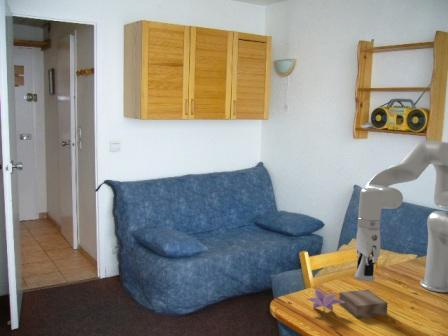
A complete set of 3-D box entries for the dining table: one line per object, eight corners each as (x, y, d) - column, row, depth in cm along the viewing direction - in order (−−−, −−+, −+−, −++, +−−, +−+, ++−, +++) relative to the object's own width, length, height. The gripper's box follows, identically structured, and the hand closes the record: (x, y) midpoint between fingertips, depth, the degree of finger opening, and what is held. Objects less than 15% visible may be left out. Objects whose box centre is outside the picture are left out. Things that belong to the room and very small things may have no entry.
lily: (348, 320, 163) (346, 292, 166) (333, 317, 154) (331, 288, 158) (317, 320, 170) (316, 293, 173) (301, 318, 161) (300, 290, 165)
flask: (372, 275, 171) (374, 248, 169) (376, 282, 164) (379, 255, 162) (352, 273, 172) (354, 247, 170) (355, 281, 164) (357, 253, 163)
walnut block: (367, 302, 177) (368, 289, 176) (386, 316, 165) (387, 302, 165) (338, 305, 173) (339, 292, 173) (356, 319, 162) (357, 306, 161)
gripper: (391, 229, 157) (386, 281, 160) (367, 217, 174) (363, 264, 176) (370, 229, 156) (366, 282, 158) (348, 217, 172) (345, 264, 175)
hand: (364, 272), depth 167 cm, fingers closed on flask, 4 cm apart
